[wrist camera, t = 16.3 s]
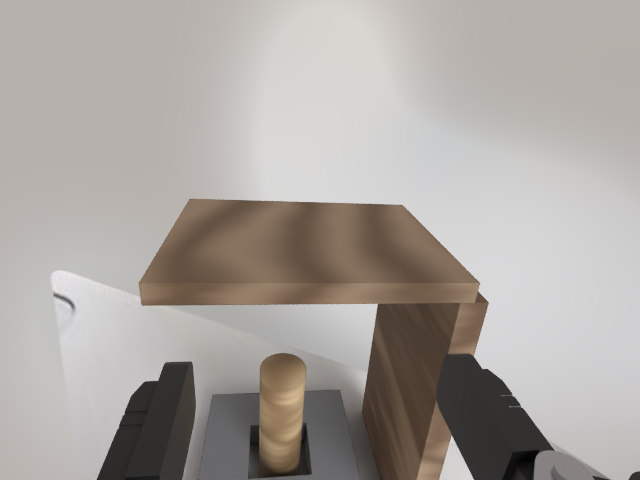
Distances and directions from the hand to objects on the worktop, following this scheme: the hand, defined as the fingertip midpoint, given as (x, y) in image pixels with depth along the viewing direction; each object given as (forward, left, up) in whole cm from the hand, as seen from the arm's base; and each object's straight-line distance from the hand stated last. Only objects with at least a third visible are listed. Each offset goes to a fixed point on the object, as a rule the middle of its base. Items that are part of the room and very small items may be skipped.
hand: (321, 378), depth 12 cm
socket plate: (0, -20, -31) cm, 37 cm away
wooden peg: (0, -20, -31) cm, 37 cm away
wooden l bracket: (-2, -19, -31) cm, 37 cm away
